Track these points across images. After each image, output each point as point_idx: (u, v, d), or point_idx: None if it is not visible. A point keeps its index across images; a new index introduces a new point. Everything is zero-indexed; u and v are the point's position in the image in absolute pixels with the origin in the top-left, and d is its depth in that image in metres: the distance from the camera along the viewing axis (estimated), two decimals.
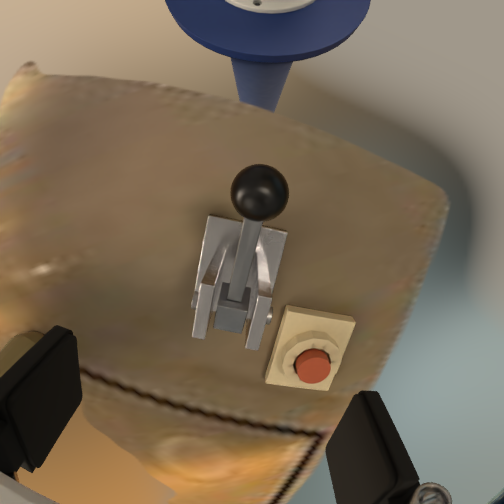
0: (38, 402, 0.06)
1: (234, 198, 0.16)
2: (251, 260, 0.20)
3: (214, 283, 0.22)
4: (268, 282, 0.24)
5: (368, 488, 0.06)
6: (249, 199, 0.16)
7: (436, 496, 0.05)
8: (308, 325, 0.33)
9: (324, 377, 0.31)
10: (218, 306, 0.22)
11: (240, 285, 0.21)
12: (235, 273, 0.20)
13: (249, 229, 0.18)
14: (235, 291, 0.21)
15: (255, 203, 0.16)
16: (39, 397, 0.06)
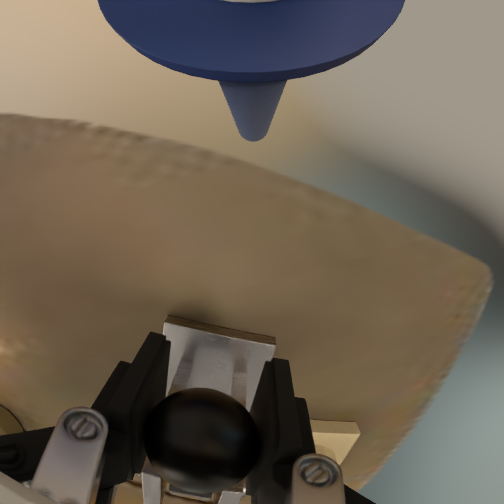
0: (148, 408, 0.07)
1: None
2: None
3: None
4: None
5: (260, 451, 0.07)
6: (174, 483, 0.06)
7: (320, 467, 0.06)
8: None
9: None
10: (170, 491, 0.12)
11: None
12: None
13: None
14: None
15: (186, 489, 0.06)
16: (150, 403, 0.07)
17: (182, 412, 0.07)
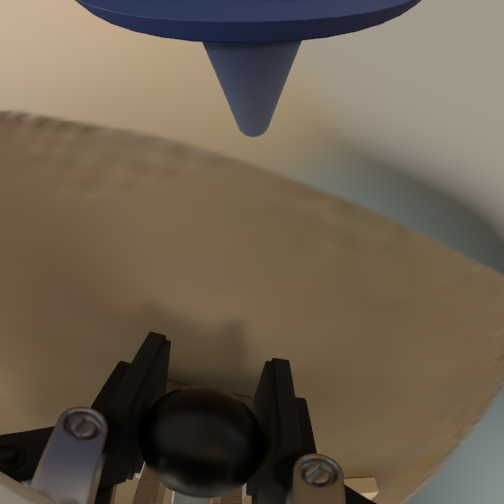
0: (148, 408, 0.07)
1: (145, 456, 0.06)
2: None
3: None
4: None
5: None
6: (174, 464, 0.05)
7: (321, 467, 0.06)
8: None
9: None
10: None
11: None
12: None
13: (186, 503, 0.06)
14: None
15: (189, 473, 0.05)
16: (149, 403, 0.07)
17: (187, 388, 0.07)
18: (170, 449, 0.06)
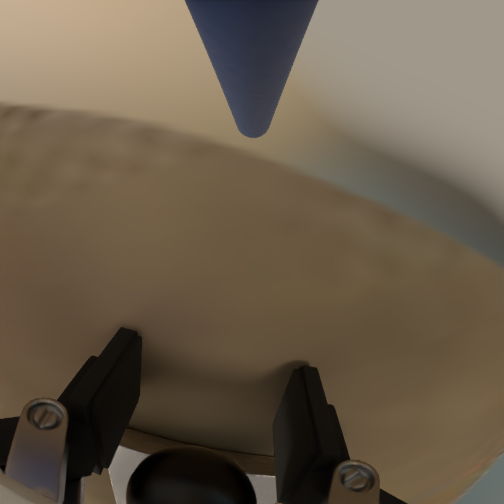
0: (114, 403, 0.07)
1: None
2: None
3: None
4: None
5: (295, 460, 0.07)
6: None
7: (359, 473, 0.06)
8: None
9: None
10: None
11: None
12: None
13: None
14: None
15: None
16: (115, 398, 0.07)
17: (176, 447, 0.06)
18: (159, 502, 0.04)
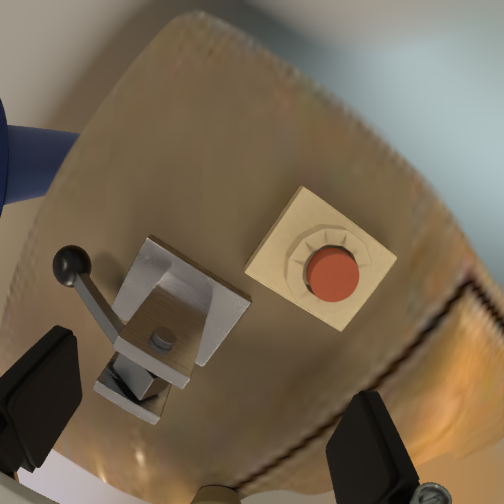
0: (38, 402, 0.06)
1: (57, 279, 0.20)
2: (95, 302, 0.19)
3: (99, 376, 0.16)
4: (134, 313, 0.17)
5: (368, 488, 0.06)
6: None
7: (436, 496, 0.05)
8: (277, 253, 0.24)
9: (354, 267, 0.21)
10: (114, 366, 0.17)
11: (112, 331, 0.18)
12: (101, 325, 0.18)
13: (78, 286, 0.20)
14: None
15: (53, 265, 0.19)
16: (39, 397, 0.06)
17: None
18: None
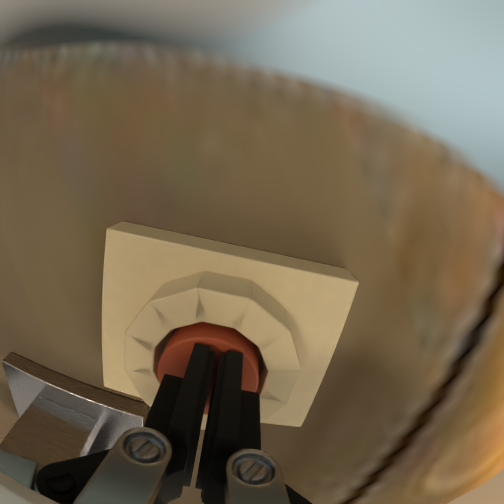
0: None
1: None
2: None
3: None
4: None
5: (204, 443, 0.07)
6: None
7: (255, 462, 0.06)
8: None
9: None
10: None
11: None
12: None
13: None
14: None
15: None
16: None
17: None
18: None
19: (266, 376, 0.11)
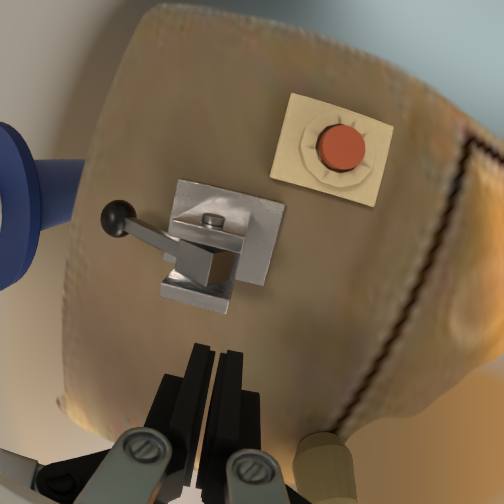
0: None
1: (107, 233, 0.24)
2: (146, 228, 0.22)
3: (163, 280, 0.19)
4: (183, 214, 0.21)
5: (204, 443, 0.07)
6: (101, 223, 0.24)
7: (255, 462, 0.06)
8: (291, 151, 0.26)
9: (356, 133, 0.23)
10: (175, 269, 0.20)
11: (167, 242, 0.21)
12: (156, 245, 0.22)
13: (128, 227, 0.23)
14: (173, 249, 0.21)
15: (102, 220, 0.24)
16: None
17: None
18: (101, 224, 0.24)
19: None
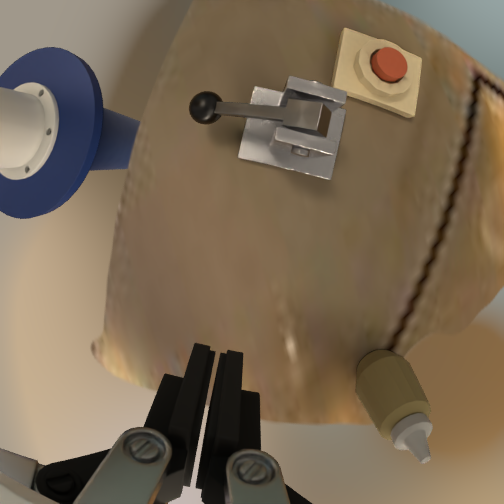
0: None
1: (197, 117, 0.26)
2: (245, 104, 0.24)
3: None
4: (284, 87, 0.22)
5: (204, 443, 0.07)
6: (192, 108, 0.25)
7: (255, 462, 0.06)
8: (348, 68, 0.28)
9: (399, 53, 0.24)
10: (283, 124, 0.22)
11: (269, 109, 0.23)
12: (257, 114, 0.23)
13: (221, 108, 0.25)
14: (276, 113, 0.23)
15: (193, 105, 0.25)
16: None
17: None
18: (190, 110, 0.26)
19: None
